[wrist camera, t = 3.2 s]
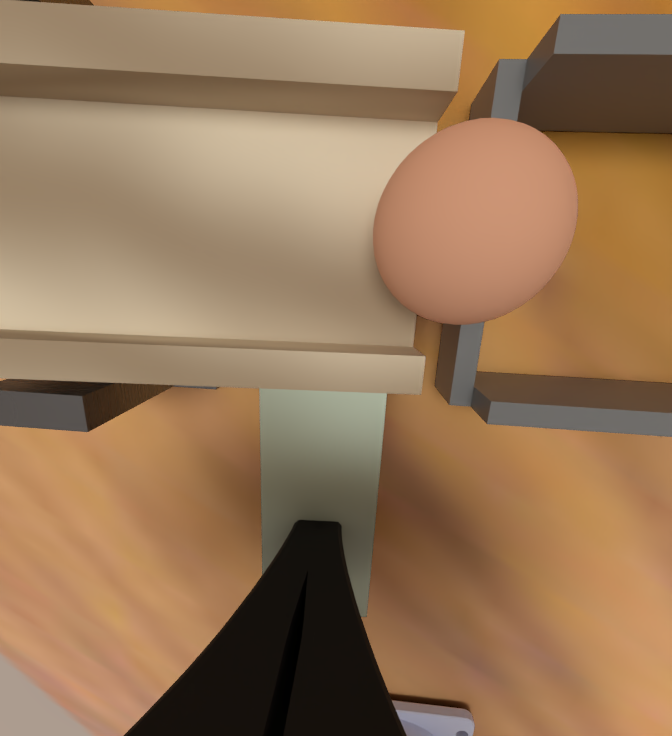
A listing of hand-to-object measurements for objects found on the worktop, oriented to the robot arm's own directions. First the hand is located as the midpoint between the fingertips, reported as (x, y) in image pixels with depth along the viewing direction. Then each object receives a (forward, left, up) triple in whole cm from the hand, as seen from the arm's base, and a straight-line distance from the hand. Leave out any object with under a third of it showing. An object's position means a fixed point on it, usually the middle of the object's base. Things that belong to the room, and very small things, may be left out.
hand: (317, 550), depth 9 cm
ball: (+8, -2, +1) cm, 8 cm away
